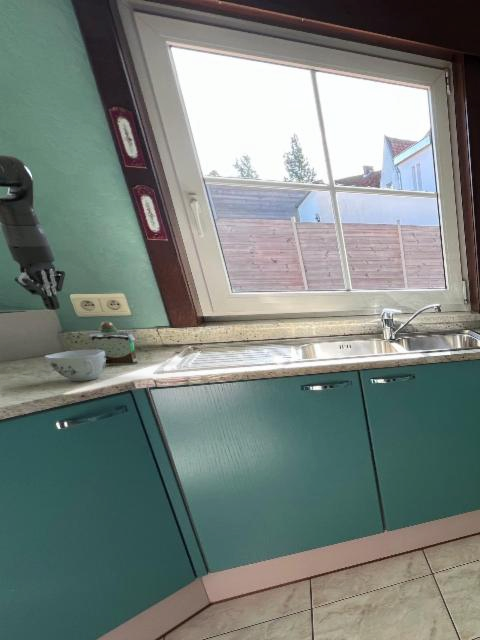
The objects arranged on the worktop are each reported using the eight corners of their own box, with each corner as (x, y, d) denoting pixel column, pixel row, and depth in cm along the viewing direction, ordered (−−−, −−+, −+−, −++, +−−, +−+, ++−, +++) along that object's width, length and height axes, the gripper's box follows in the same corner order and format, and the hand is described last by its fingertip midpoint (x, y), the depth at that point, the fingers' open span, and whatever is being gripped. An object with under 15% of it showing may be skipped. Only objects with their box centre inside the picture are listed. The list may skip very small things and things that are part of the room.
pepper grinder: (113, 357, 178) (102, 322, 173) (105, 356, 179) (93, 321, 174) (129, 355, 182) (118, 321, 177) (120, 354, 183) (109, 320, 179)
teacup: (47, 380, 146) (37, 353, 143) (102, 372, 156) (93, 347, 153) (68, 387, 139) (57, 359, 137) (124, 379, 150) (115, 353, 147)
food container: (151, 360, 175) (142, 332, 171) (139, 364, 169) (129, 334, 165) (111, 360, 173) (101, 331, 169) (97, 364, 167) (87, 334, 163)
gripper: (33, 237, 133) (57, 302, 141) (-14, 243, 121) (15, 313, 129) (65, 241, 134) (88, 305, 142) (21, 247, 123) (49, 316, 131)
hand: (53, 309), depth 136 cm, fingers closed
